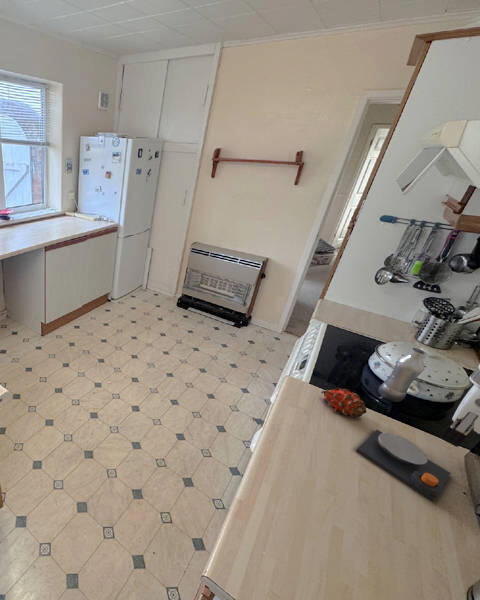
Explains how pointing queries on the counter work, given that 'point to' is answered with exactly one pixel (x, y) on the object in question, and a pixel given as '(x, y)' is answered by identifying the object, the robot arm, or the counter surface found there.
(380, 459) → the scale
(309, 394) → the counter surface
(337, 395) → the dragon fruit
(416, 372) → the plastic bottle
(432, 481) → the tare button
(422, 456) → the scale pan
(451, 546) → the counter surface
